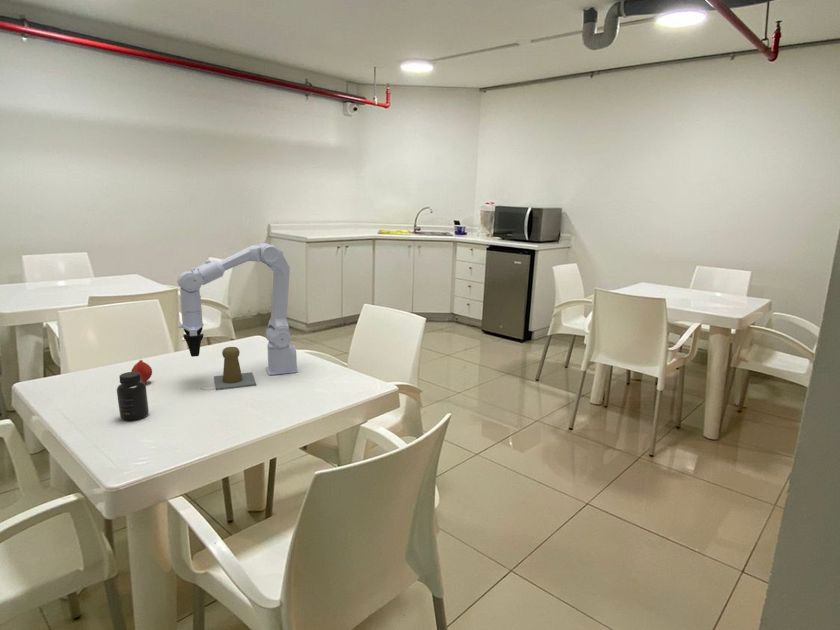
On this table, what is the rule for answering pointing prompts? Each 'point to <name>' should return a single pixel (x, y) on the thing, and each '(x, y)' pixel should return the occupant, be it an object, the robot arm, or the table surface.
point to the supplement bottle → (132, 397)
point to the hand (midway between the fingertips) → (194, 352)
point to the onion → (143, 370)
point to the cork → (231, 365)
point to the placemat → (246, 381)
